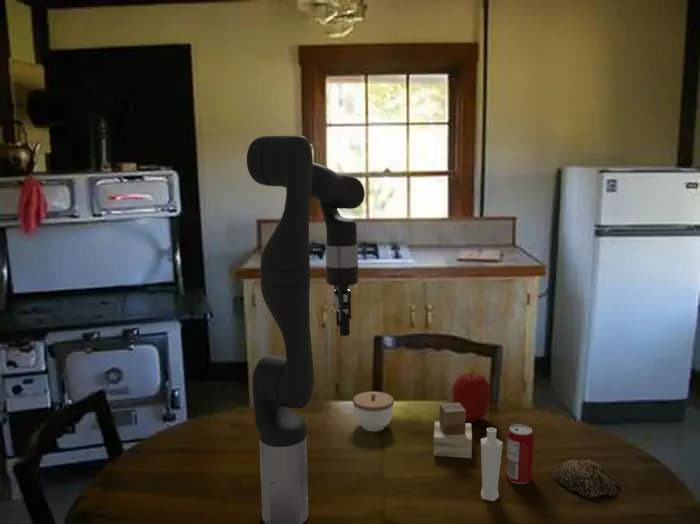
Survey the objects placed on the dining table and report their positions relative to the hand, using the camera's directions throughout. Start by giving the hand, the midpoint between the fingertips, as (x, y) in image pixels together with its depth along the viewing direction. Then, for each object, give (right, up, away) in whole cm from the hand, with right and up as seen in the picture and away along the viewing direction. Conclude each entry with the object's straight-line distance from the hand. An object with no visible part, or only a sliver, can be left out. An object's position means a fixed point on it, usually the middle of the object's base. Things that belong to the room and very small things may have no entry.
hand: (342, 330), depth 151 cm
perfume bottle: (+31, -34, -17) cm, 49 cm away
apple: (+35, -27, +21) cm, 49 cm away
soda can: (+39, -32, -10) cm, 52 cm away
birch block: (+27, -30, +5) cm, 40 cm away
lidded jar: (+8, -28, +17) cm, 33 cm away
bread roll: (+54, -33, -12) cm, 64 cm away
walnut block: (+27, -25, +4) cm, 37 cm away
